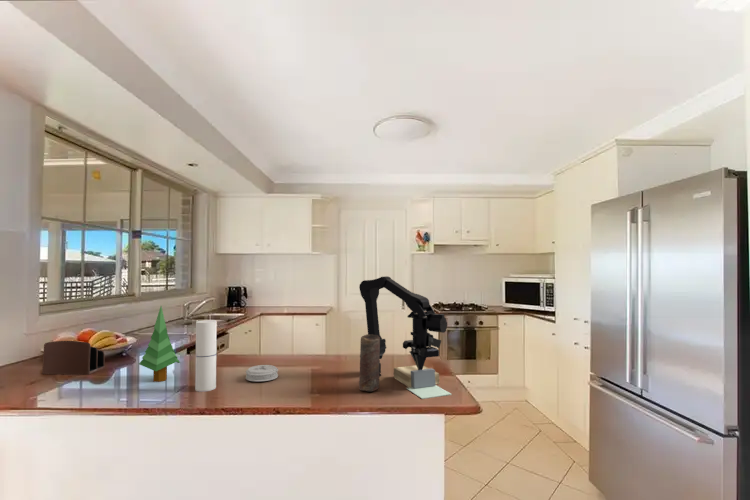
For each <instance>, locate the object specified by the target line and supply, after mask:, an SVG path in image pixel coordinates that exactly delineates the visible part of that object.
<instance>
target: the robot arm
mask: <svg viewBox="0 0 750 500" xmlns="http://www.w3.org/2000/svg"><path fill="white" fill-rule="evenodd" d="M380 289H385V290H387V291H389V293H391V294H393V295H395V296H396V297H397V298H399V299H400V300H402V301H403V303H404V304H405V305H406V306H407V308H408V309H410V311H411V312H410V313H409V314H407V318H409V319H410V318H411V319H412V331H410V335H411V336H412V339H407V340H404V341H403V342H402V348H403V349H405V350H407V349H408V348H411V349H410V351H409V353H410V355H411V357H412V359H413V361H414V363H415V365H416V366H417V368H418V370H422V369H423V366H425V362H426V361H427V360H426V359H427V358H434V357H435V358H437V357H440V350H439V349H440V347H441V344H442V340H441V339H438V338H436V337H434V335H433V334H431V333H430V332H433V333H446V332H447V328H448V322H447V319H446V317H445V314H444V313H436V312H435V310H434V309H433V307H432V305H431V304H430V300H429V299H428V297H426V296H423V295H421V294H418V293H415V292H412V291H410V290H409V289H407V288H406V287H404V286H403V285H401V284H400V283H398V281H395V280H394V279H392V278H391V277H390V276H387V275H386V276H380V277H378V278H375V279H366V280H365V279H364V280H362V281H361V282H360V284H359V292H360V296H361V297H362V300H363V301H364V305H365V316H366V317H365V318H366V326H367V334H368V335H369V334H370V335H371V334H373V335H378V336H379V337H380V356H379V377H381V376H382V370H381V369H382V364H381V360H382V358H383V357H384V356H383V355H385V353H386V349H387V345H386V343H387V341H386V338H382V336H381V334H380V333H381V332H380V323H379V322H380V321H379V313H378V311H379V310H378V303H377V301H378V298H379V294H380Z"/></svg>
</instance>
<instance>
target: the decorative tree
mask: <svg viewBox="0 0 750 500" xmlns="http://www.w3.org/2000/svg"><path fill="white" fill-rule="evenodd" d="M153 329H154V330H153V332H152V334H151V337H150V340H149V343H148V345H147V347H146V350H145V351H144V354H143V356H142V357H141V359H142V360H141V361H140V362H139V363H138V365H140V366H142V367H144V368H147V369H149V370H152V372H153V373H152V374H153V381H152V382H154V383H155V382H156V383H160V382H165V381H166V380H167V377H168V375H167V374H168V373H167V372H168V371H167V370H168V369H167V368H168V366H170V365H173V364H176V363H177V364H181V363H182V362H181V361H180V360H179V359H178V358H179V357H178V356H177V355H176V352H175V349H174V348H173V345H172V343H171V339H170V336H169V334H168V330H167V325H166V320H165V316H164V312H163V308H162V305H160V308H159V310H158V314H157V317H156V320H155V323H154V327H153Z"/></svg>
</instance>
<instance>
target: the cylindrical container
mask: <svg viewBox="0 0 750 500" xmlns="http://www.w3.org/2000/svg"><path fill="white" fill-rule="evenodd" d="M217 321H218V320H215V319H204V320H197V321H195V388H194V389H195V391H196V392H200V393H201V392H204V393H205V392H211V391H212V390H215V389H216V388H217V327H218V325H217V324H218V323H217Z"/></svg>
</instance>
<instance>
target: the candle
mask: <svg viewBox="0 0 750 500" xmlns="http://www.w3.org/2000/svg"><path fill="white" fill-rule="evenodd" d="M359 350H360V352H359V379H358V380H359V381H358V383H359V386H358V388H359V390H360V391H364V392H368V393H371V392H374V391H376V390H378V389H379V388H380V376H379V360H380V359H379V356H380V337H379V336H378V335H373V334H371V335H370V334H369V335H368V333H367V334H363V335H362V336H361V337H360V349H359Z"/></svg>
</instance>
